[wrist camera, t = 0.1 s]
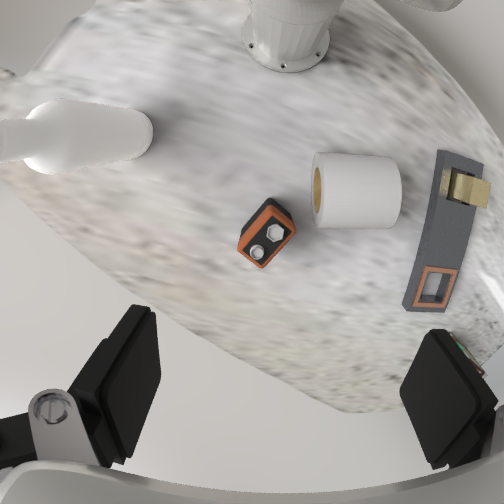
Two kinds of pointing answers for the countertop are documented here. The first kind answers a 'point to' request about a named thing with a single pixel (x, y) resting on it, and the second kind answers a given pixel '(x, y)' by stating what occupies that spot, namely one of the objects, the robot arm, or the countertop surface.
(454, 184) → the tan wooden block
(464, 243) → the rail
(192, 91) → the countertop surface
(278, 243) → the battery
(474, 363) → the food container
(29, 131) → the bottle
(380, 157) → the toilet paper
